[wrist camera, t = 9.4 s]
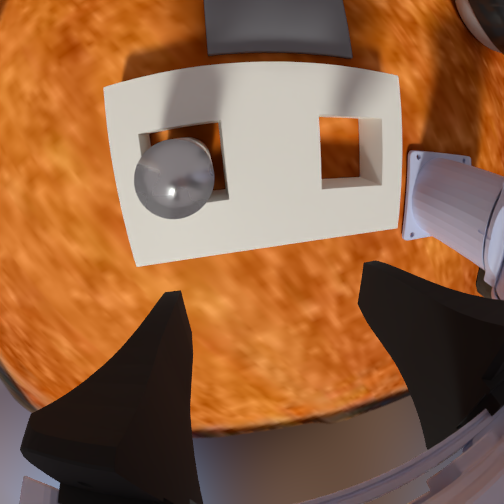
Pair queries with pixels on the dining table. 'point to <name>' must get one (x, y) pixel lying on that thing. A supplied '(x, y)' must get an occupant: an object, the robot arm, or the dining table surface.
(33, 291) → the dining table surface
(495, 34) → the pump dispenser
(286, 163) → the hole block
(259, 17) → the mat
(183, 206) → the peg
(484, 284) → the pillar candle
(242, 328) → the dining table surface
